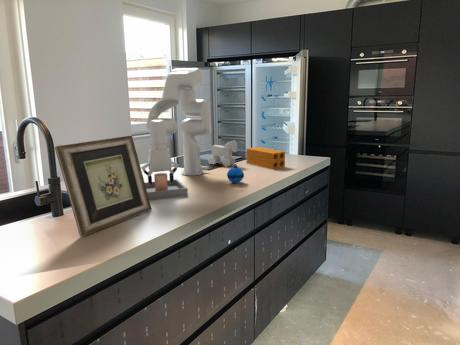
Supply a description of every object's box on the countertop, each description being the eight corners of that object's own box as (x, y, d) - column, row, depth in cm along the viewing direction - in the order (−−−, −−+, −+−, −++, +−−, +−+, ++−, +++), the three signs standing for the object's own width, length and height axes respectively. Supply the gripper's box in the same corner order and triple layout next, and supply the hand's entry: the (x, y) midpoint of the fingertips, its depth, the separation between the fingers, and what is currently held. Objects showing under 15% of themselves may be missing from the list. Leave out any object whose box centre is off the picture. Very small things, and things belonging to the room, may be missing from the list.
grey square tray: (177, 185, 188) (177, 179, 188) (187, 195, 170) (187, 188, 169) (137, 190, 181) (136, 183, 180) (143, 201, 163) (143, 193, 162)
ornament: (224, 184, 190) (224, 165, 188) (230, 180, 198) (230, 162, 196) (240, 185, 187) (240, 166, 185) (245, 181, 195) (245, 162, 193)
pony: (241, 165, 238) (240, 139, 234) (232, 168, 229) (232, 141, 226) (215, 162, 248) (214, 137, 245) (206, 165, 240) (205, 139, 236)
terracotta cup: (166, 188, 179) (165, 172, 178) (169, 191, 174) (168, 174, 172) (154, 190, 177) (153, 173, 175) (156, 193, 172) (155, 176, 170)
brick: (284, 167, 230) (285, 151, 227) (272, 169, 224) (272, 153, 222) (258, 161, 250) (258, 147, 248) (246, 163, 244) (246, 148, 242)
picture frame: (82, 237, 123) (72, 147, 116) (64, 232, 128) (53, 145, 121) (152, 210, 150) (147, 136, 143) (134, 207, 155) (129, 135, 148)
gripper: (175, 144, 177) (177, 179, 181) (138, 147, 171) (141, 183, 175) (179, 146, 171) (181, 182, 174) (141, 149, 165) (143, 186, 168)
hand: (161, 183), depth 175 cm, fingers open, 9 cm apart
